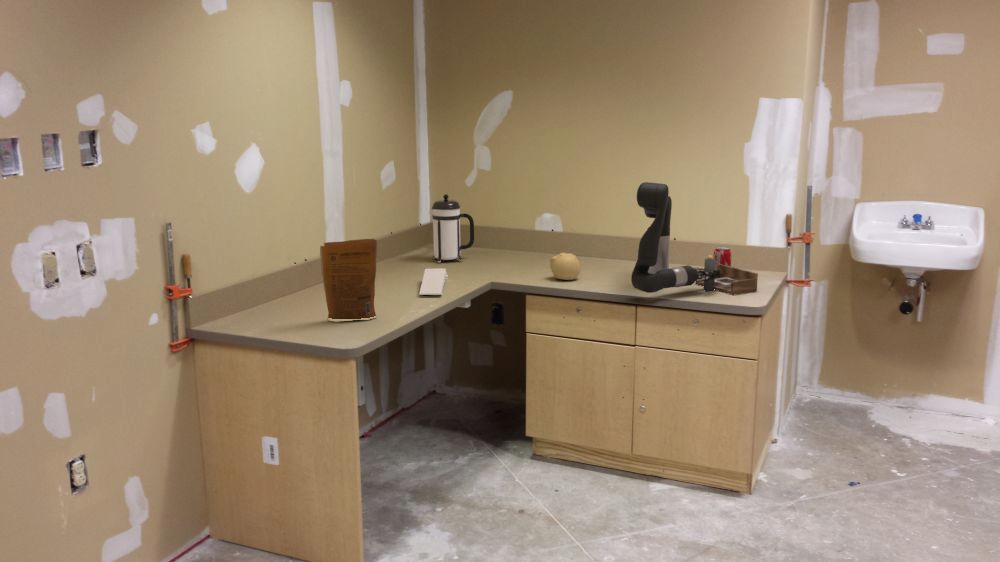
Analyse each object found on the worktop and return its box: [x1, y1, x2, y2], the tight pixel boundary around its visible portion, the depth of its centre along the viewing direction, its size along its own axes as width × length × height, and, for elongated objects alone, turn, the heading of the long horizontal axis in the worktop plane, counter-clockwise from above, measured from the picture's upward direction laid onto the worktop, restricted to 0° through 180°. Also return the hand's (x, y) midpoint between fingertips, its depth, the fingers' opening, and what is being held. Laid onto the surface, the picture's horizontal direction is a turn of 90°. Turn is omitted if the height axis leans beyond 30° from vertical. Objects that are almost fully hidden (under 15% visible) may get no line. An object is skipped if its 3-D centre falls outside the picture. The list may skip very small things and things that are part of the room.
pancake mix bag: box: [319, 238, 378, 319], centre depth 299 cm, size 7×19×28 cm, turn 101°
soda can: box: [712, 246, 732, 269], centre depth 362 cm, size 7×7×12 cm
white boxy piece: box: [418, 268, 449, 296], centre depth 346 cm, size 10×7×28 cm
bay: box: [695, 264, 759, 296], centre depth 343 cm, size 21×12×7 cm, turn 29°
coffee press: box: [428, 193, 475, 262], centre depth 398 cm, size 17×16×30 cm
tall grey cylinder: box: [702, 255, 716, 292], centre depth 339 cm, size 4×4×14 cm
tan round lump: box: [549, 252, 581, 281], centre depth 361 cm, size 11×12×11 cm
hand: (714, 271), depth 340 cm, fingers closed on tall grey cylinder, 4 cm apart
